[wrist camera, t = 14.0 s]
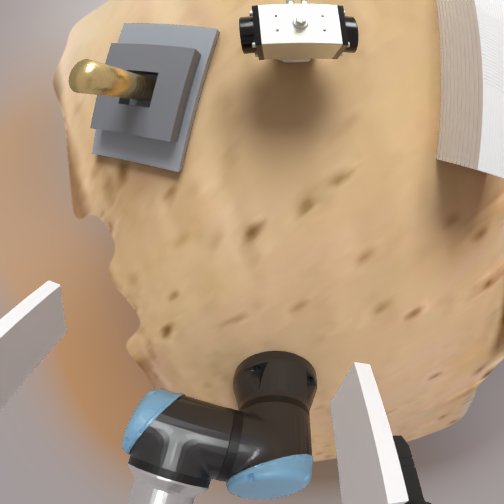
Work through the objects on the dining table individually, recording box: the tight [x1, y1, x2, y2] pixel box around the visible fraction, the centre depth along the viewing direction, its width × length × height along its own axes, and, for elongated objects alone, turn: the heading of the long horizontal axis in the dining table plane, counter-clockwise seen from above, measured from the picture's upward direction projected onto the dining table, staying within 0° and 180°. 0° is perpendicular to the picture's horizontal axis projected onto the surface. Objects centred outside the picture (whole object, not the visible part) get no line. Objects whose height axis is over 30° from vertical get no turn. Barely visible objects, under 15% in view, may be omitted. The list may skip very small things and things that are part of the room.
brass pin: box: [69, 59, 156, 101], centre depth 26 cm, size 3×3×15 cm
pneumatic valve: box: [239, 0, 358, 63], centre depth 26 cm, size 6×12×12 cm, turn 94°
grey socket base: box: [91, 23, 220, 172], centre depth 33 cm, size 20×14×4 cm
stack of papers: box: [436, 0, 504, 179], centre depth 24 cm, size 32×11×11 cm, turn 177°
